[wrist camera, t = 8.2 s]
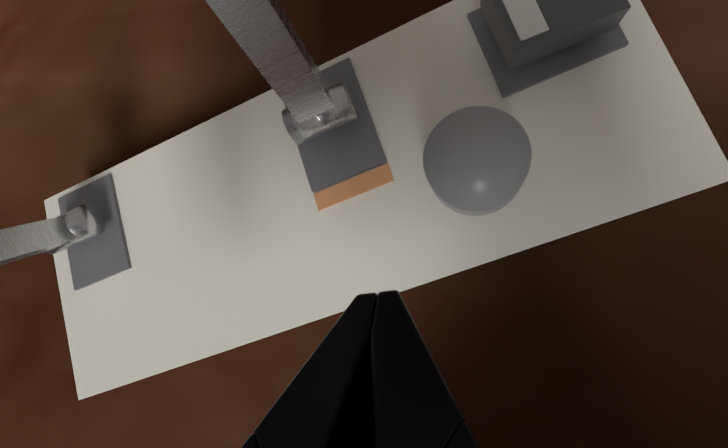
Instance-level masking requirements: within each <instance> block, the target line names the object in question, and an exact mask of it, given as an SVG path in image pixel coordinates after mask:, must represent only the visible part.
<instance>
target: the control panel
mask: <svg viewBox="0 0 728 448" xmlns="http://www.w3.org/2000/svg"><path fill="white" fill-rule="evenodd" d="M480 1H481V0H453V1H451V2H449V3H447V4H445V5H443V6H441V7H439V8H436V9H434V10H432V11H430V12H428V13H426V14H424V15H422V16H420V17H418V18H416V19H414V20H412V21H410V22H408V23H406V24H404V25H402V26H400V27H398V28H396V29H394V30H392V31H389V32H387V33H385V34H383V35H381V36H379V37H377V38H375V39H373V40H371V41H369V42H367V43H365V44H363V45H361V46H359V47H357V48H355V49H353V50H351V51H349V52H347V53H345V54H342V55H340V56H338V57H336V58H334V59H332V60H330V61H328V62H326V63H324V64H322V65H320V66H318V68H319V70H320V72H321V73H322V75H323V77H324V78H325V80H326V82H327V83H328V85H329V87H332V86H334V85H336V84H338V83H340V82H342V81H343V82H344V83H345V84H346V86H347V88H348V90H349V92H350V94H351V96H352V98H353V100H354V103H355V105H356V108H357V111H358V115H359V118H358V119H356V120H354V121H352V122H350V123H347V124H345V125H343V126H341V127H338V128H336V129H334V130H332V131H329V132H327V133H325V134H323V135H321V136H318V137H316V138H314V139H312V140H309V141H307V142H305V143H303V144H300V145H298V144H296V143H295V142H294V141H293V140H292V138H291V137H290V135H289V133H288V131H287V129H286V127H285V125H284V122H283V119H282V110H283V109H285V108H287V107H286V105H285V104H284V103H283V101H282V100H281V99H280V98H279V96H278V95H277V94H276V92H275V91H274V90H273V89H271V90H269V91H267V92H265V93H263V94H261V95H259V96H257V97H255V98H253V99H251V100H249V101H246V102H244V103H242V104H240V105H238V106H236V107H234V108H232V109H230V110H228V111H226V112H224V113H222V114H220V115H218V116H216V117H214V118H212V119H210V120H208V121H206V122H204V123H202V124H199V125H197V126H195V127H193V128H191V129H189V130H187V131H185V132H183V133H181V134H179V135H177V136H175V137H173V138H171V139H169V140H167V141H165V142H163V143H161V144H159V145H157V146H155V147H153V148H150V149H148V150H146V151H144V152H142V153H140V154H138V155H136V156H134V157H132V158H130V159H128V160H126V161H124V162H122V163H120V164H118V165H116V166H114V167H112V168H110V169H108V170H106V171H103V172H101V173H99V174H97V175H95V176H93V177H91V178H89V179H87V180H85V181H83V182H81V183H79V184H77V185H75V186H73V187H71V188H69V189H67V190H65V191H63V192H61V193H59V194H56V195H54V196H52V197H50V198H48V199H46V200H44V203H45V209H46V215H47V219H50V218H55V217H57V216H59V215H61V214H64V213H66V212H68V211H70V210H72V209H74V208H76V207H78V206H80V205H84V204H87V205H91V206H94V207H95V208H97V209H98V210H99V211H100V212H101V213H102V214H103V216H104V218H105V221H106V228H105V230H104V232H103V233H101V234H99V235H97V236H95V237H93V238H90V239H88V240H86V241H84V242H81V243H79V244H77V245H75V246H72V247H70V248H68V249H66V250H63V251H61V252H59V253H57V254H53V255H54V261H55V267H56V273H57V279H58V284H59V290H60V296H61V302H62V308H63V313H64V319H65V325H66V331H67V336H68V342H69V348H70V354H71V360H72V365H73V371H74V377H75V383H76V388H77V394H78V400H81V399H84V398H87V397H90V396H93V395H96V394H99V393H102V392H105V391H108V390H111V389H114V388H117V387H120V386H123V385H126V384H129V383H132V382H135V381H138V380H141V379H144V378H147V377H150V376H153V375H156V374H159V373H162V372H165V371H168V370H171V369H174V368H177V367H180V366H183V365H186V364H188V363H191V362H194V361H197V360H200V359H203V358H206V357H209V356H212V355H215V354H218V353H221V352H224V351H227V350H230V349H233V348H236V347H239V346H242V345H245V344H248V343H251V342H254V341H257V340H260V339H263V338H266V337H269V336H271V335H274V334H277V333H280V332H283V331H286V330H289V329H292V328H295V327H298V326H301V325H304V324H307V323H310V322H313V321H316V320H319V319H322V318H325V317H328V316H331V315H334V314H337V313H340V312H343V311H345V310H346V309H347V307H348V306H349V305H350V303H351V302H352V301H353V299H354V298H355V297H356V296H357V295H359V294H364V293H373V292H375V293H377V294H378V293H379V292H381V291H390V290H397V291H398V292H402V291H405V290H408V289H411V288H414V287H417V286H420V285H423V284H426V283H429V282H432V281H435V280H438V279H440V278H443V277H446V276H449V275H452V274H455V273H458V272H461V271H464V270H467V269H470V268H473V267H476V266H479V265H482V264H485V263H488V262H491V261H494V260H497V259H500V258H503V257H506V256H509V255H512V254H515V253H518V252H521V251H523V250H526V249H529V248H532V247H535V246H538V245H541V244H544V243H547V242H550V241H553V240H556V239H559V238H562V237H565V236H568V235H571V234H574V233H577V232H580V231H583V230H586V229H589V228H592V227H595V226H598V225H601V224H604V223H606V222H609V221H612V220H615V219H618V218H621V217H624V216H627V215H630V214H633V213H636V212H639V211H642V210H645V209H648V208H651V207H654V206H657V205H660V204H663V203H666V202H669V201H672V200H675V199H678V198H681V197H684V196H687V195H689V194H692V193H695V192H698V191H701V190H704V189H707V188H710V187H713V186H715V185H718V184H721V183H724V182H727V181H728V161H727V160H726V158H725V156H724V154H723V152H722V150H721V148H720V147H719V145H718V143H717V141H716V139H715V137H714V136H713V134H712V132H711V130H710V128H709V126H708V124H707V123H706V121H705V119H704V117H703V115H702V113H701V112H700V110H699V108H698V106H697V104H696V102H695V100H694V99H693V97H692V95H691V93H690V91H689V89H688V87H687V86H686V84H685V82H684V80H683V78H682V76H681V75H680V73H679V71H678V69H677V67H676V65H675V63H674V62H673V60H672V58H671V56H670V54H669V52H668V51H667V49H666V47H665V45H664V43H663V41H662V39H661V38H660V36H659V34H658V32H657V30H656V28H655V27H654V25H653V23H652V21H651V19H650V17H649V15H648V14H647V12H646V10H645V8H644V6H643V4H642V3H641V1H640V0H628V1H629V3H630V5H631V8H630V9H629V10H628V12H627V13H626V15H625V16H624V17H623V19H622V20H621V22H620V23H619V24H618V26H617V27H616V29H613V30H611V31H608V32H605V33H603V34H600V35H598V36H595V37H593V38H590V39H588V40H585V41H582V42H580V43H577V44H575V45H572V46H570V47H567V48H564V49H562V50H559V51H557V52H554V53H552V54H549V55H547V56H544V57H541V58H539V59H536V60H534V61H531V62H529V63H526V64H523V65H521V66H518V67H516V68H513V69H511V70H509V69H508V66H507V64H506V62H505V60H504V57H503V55H502V53H501V51H500V48H499V46H498V44H497V42H496V40H495V37H494V35H493V33H492V31H491V28H490V26H489V24H488V22H487V19H486V17H485V15H484V13H483V10H482V8H481V6H480ZM471 106H488V107H493V108H497V109H500V110H502V111H504V112H506V113H508V114H510V115H511V116H512V117H514V118H515V119H516V120H517V121H518V122H519V123H520V124H521V125H522V127H523V128H524V130H525V131H526V133H527V135H528V138H529V141H530V145H531V152H532V158H531V165H530V169H529V172H528V174H527V177H526V178H525V180H524V182H523V184H522V186H521V187H520V189H519V191H518V193H517V194H516V196H515V197H514V198H513V199H512V200H511V201H510V202H509V203H508V204H507V205H506V206H504V207H503V208H501V209H499V210H498V211H495V212H493V213H490V214H486V215H480V216H470V215H464V214H460V213H457V212H455V211H453V210H451V209H449V208H448V207H446V206H445V205H444V204H443V203H442V202H441V201H440V200H439V199H438V198H437V196H436V195H435V193H434V191H433V189H432V188H431V186H430V184H429V182H428V180H427V178H426V175H425V172H424V167H423V151H424V147H425V143H426V141H427V138H428V136H429V135H430V133H431V131H432V130H433V129H434V127H435V126H436V125H437V124H438V123H439V122H440V121H441V120H442V119H443V118H445V117H446V116H448V115H449V114H451V113H453V112H455V111H457V110H459V109H462V108H466V107H471Z"/></svg>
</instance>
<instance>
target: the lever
mask: <svg viewBox="0 0 728 448" xmlns="http://www.w3.org/2000/svg"><path fill="white" fill-rule="evenodd" d="M105 228H106V221H105V218H104V216H103V214H102V213H101V212H100V211H99V210H98V209H97V208H95V207H94V206H91V205H87V204H84V205H80V206H78V207H76V208H74V209H72V210H70V211H68V212H66V213H64V214H61V215H59V216H57V217H55V218H50V219H46V220H42V221H37V222H33V223H28V224H24V225H19V226H15V227H10V228H6V229H2V230H0V266H1V265H4V264H7V263H10V262H13V261H17V260H20V259H23V258H26V257H30V256H33V255H36V254H39V253H42V252H43V253H46V254H57V253H59V252H61V251H63V250H66V249H68V248H70V247H72V246H75V245H77V244H79V243H81V242H84V241H86V240H88V239H90V238H93V237H95V236H97V235H99V234H101V233H103V232H104V230H105Z"/></svg>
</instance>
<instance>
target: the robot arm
mask: <svg viewBox="0 0 728 448" xmlns="http://www.w3.org/2000/svg"><path fill="white" fill-rule="evenodd" d="M254 433H255V435H254V434H251V435H250V436H249V437H248V439H247V440H246V441H245V443H244V444H243V445H242V447H241V448H480V447H479V446H478V444H477V442H476V440H475V438H474V436H473V434H472V432H471V430H470V428H469V426H468V424H467V423H465V419H464V417H463V415H462V413H461V411H460V409H459V407H458V405H457V404H456V402H455V400H454V398H453V396H452V394H451V392H450V390H449V388H448V386H447V384H446V382H445V380H444V378H443V376H442V374H441V373H440V371H439V369H438V367H437V365H436V363H435V361H434V359H433V357H432V355H431V353H430V351H429V349H428V347H427V345H426V344H425V342H424V340H423V338H422V336H421V334H420V332H419V330H418V328H417V326H416V324H415V322H414V320H413V318H412V316H411V314H410V313H409V311H408V309H407V307H406V305H405V303H404V301H403V299H402V297H401V295H400V293H399V292H398V291H397V290H390V291H381V292H379V293H378V294H377V293H375V292H373V293H364V294H359V295H357V296H356V297H355V298H354V299H353V301H352V302H351V303H350V305H349V306H348V307H347V309H346V310H345V311H344V313H343V314H342V315H341V317H340V318H339V319H338V320H337V322H336V323H335V324H334V326H333V327H332V328H331V330H330V331H329V332H328V334H327V335H326V336H325V338H324V339H323V340H322V342H321V343H320V344H319V346H318V347H317V348H316V349H315V351H314V352H313V353H312V355H311V356H310V357H309V359H308V360H307V361H306V363H305V364H304V365H303V367H302V368H301V369H300V371H299V372H298V373H297V374H296V376H295V377H294V378H293V380H292V381H291V382H290V384H289V385H288V386H287V388H286V389H285V390H284V392H283V393H282V394H281V396H280V397H279V398H278V400H277V401H276V402H275V403H274V405H273V406H272V407H271V409H270V410H269V411H268V413H267V414H266V415H265V417H264V418H263V419H262V421H261V422H260V423H259V425H258V426H257V427H256V428H255V430H254Z"/></svg>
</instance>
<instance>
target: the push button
mask: <svg viewBox="0 0 728 448" xmlns="http://www.w3.org/2000/svg"><path fill="white" fill-rule="evenodd" d="M531 158H532V152H531V145H530V141H529V138H528V135H527V133H526V131H525V130H524V128H523V127H522V125H521V124H520V123H519V122H518V121H517V120H516V119H515V118H514V117H512V116H511V115H510V114H508V113H506V112H504V111H502V110H500V109H497V108H493V107H488V106H471V107H466V108H462V109H459V110H457V111H455V112H453V113H451V114H449V115H448V116H446V117H445V118H443V119H442V120H441V121H440V122H439V123H438V124H437V125H436V126H435V127H434V129H433V130H432V131H431V133H430V135H429V136H428V138H427V141H426V143H425V147H424V151H423V167H424V172H425V175H426V178H427V180H428V182H429V184H430V186H431V188H432V189H433V191H434V193H435V195H436V196H437V198H438V199H439V200H440V201H441V202H442V203H443V204H444V205H445V206H446V207H448V208H449V209H451V210H453V211H455V212H457V213H460V214H464V215H470V216H480V215H486V214H490V213H493V212H495V211H498V210H499V209H501V208H503V207H504V206H506V205H507V204H508V203H509V202H510V201H511V200H512V199H513V198H514V197H515V196H516V194H517V193H518V191H519V189H520V187H521V186H522V184H523V182H524V180H525V178H526V177H527V174H528V172H529V169H530V165H531Z"/></svg>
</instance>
